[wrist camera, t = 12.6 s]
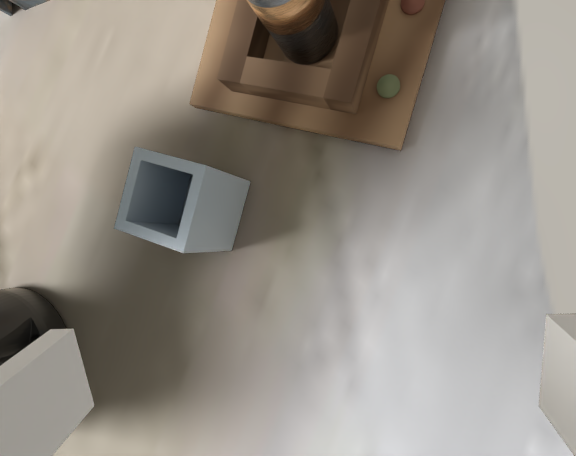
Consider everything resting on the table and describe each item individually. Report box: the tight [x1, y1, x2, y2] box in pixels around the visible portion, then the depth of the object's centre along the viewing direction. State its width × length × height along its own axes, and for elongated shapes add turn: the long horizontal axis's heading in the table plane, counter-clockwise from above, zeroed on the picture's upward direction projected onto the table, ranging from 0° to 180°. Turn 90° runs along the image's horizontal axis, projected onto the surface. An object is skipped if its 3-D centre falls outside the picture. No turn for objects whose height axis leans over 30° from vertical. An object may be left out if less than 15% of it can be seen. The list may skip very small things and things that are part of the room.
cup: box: [114, 147, 251, 253], centre depth 29 cm, size 6×6×7 cm
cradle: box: [190, 0, 445, 151], centre depth 28 cm, size 18×14×4 cm
